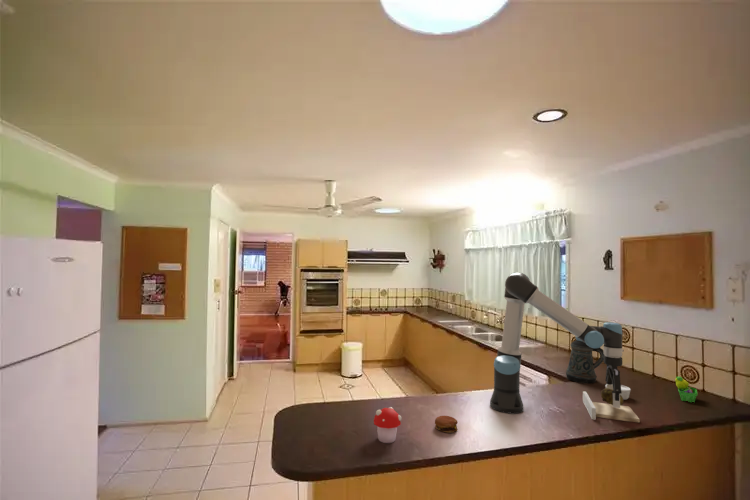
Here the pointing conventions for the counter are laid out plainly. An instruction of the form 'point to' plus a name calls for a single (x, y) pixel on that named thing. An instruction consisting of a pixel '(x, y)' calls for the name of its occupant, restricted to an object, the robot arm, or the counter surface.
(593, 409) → the divider wall
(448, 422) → the burger
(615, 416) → the cutting board
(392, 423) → the mushroom
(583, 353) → the beer stein
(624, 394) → the ramekin
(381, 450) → the counter surface
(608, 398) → the potato
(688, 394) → the fruit basket
